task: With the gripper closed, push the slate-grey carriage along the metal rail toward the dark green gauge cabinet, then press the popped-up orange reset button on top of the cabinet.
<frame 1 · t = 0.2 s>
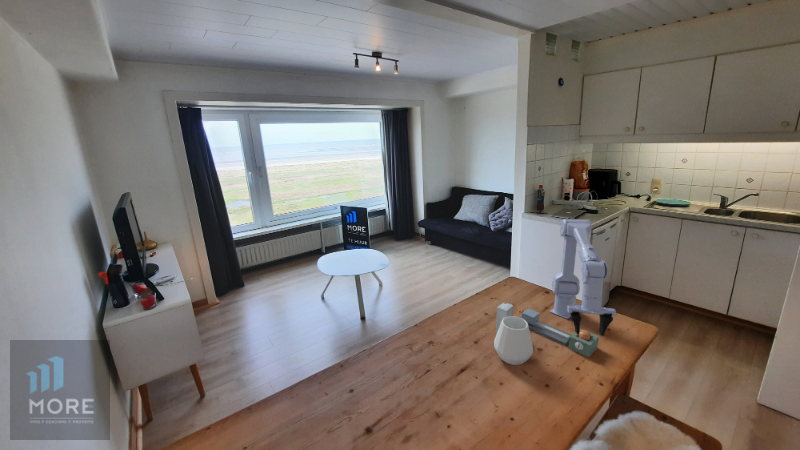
hand: (589, 333, 112), 10 cm above the table, tool pointing down, fingers open, 7 cm apart
skincare box: (503, 333, 131), on the table
rail base: (543, 330, 132), on the table
cup: (512, 356, 118), on the table
reset button: (584, 337, 119), point 4 cm above the table, slide at 0.0 cm
gauge cabinet: (582, 348, 121), on the table
carriage: (530, 317, 135), point 4 cm above the table, slide at 0.0 cm
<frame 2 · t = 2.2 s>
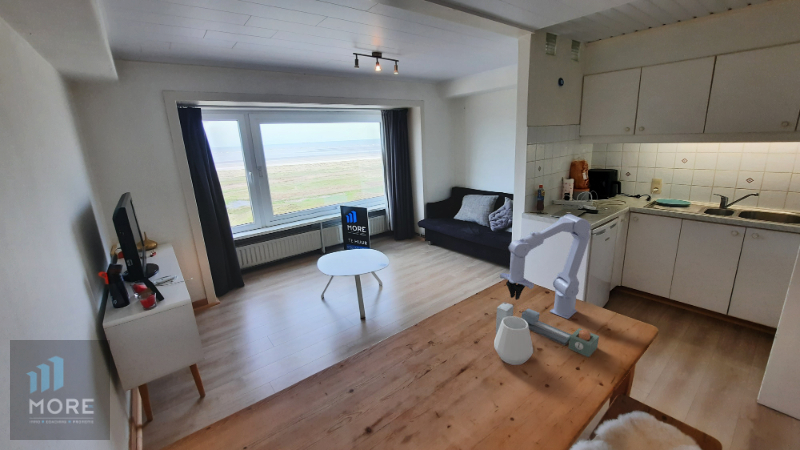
hand: (515, 298, 139), 9 cm above the table, tool pointing down, fingers closed
nothing on the table moved.
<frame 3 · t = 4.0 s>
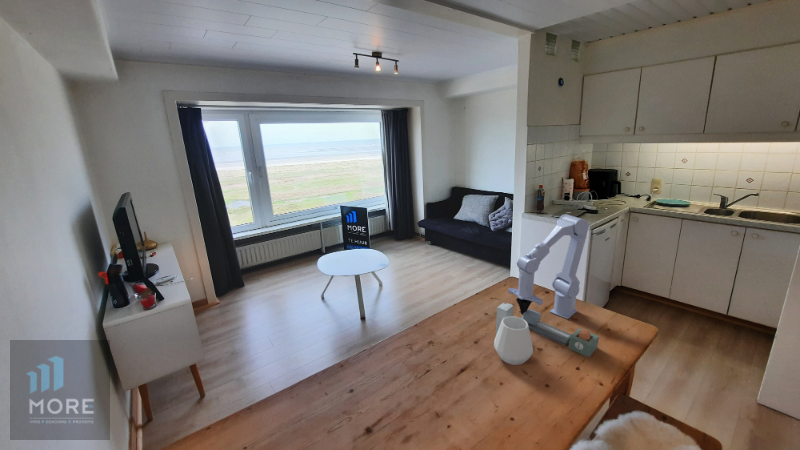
hand: (523, 313, 138), 4 cm above the table, tool pointing down, fingers closed
carriage: (531, 317, 135), point 4 cm above the table, slide at 0.6 cm, touching gripper
everything else where it was.
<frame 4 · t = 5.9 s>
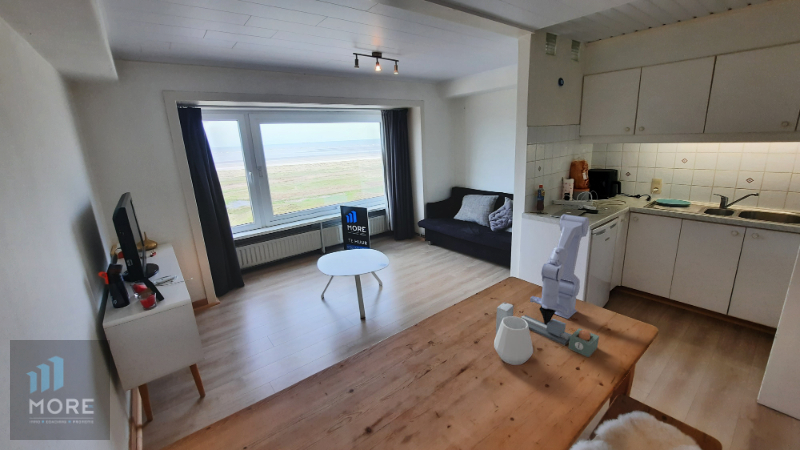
hand: (546, 323, 130), 4 cm above the table, tool pointing down, fingers closed
carriage: (555, 327, 127), point 4 cm above the table, slide at 10.7 cm, touching gripper
everything else where it was.
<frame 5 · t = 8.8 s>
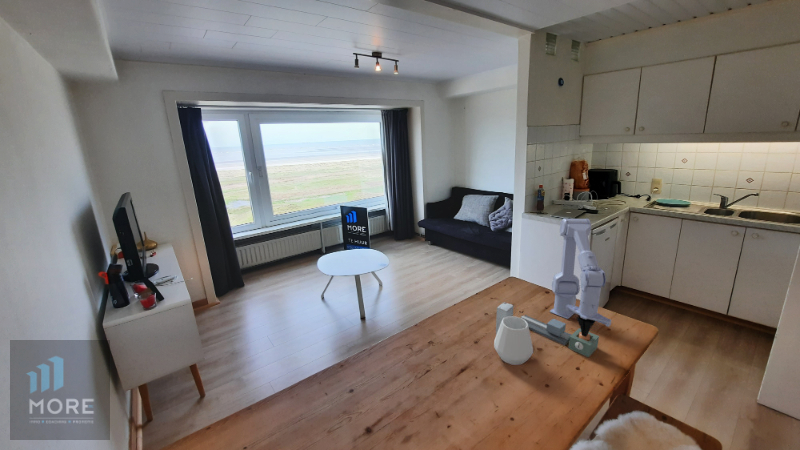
hand: (584, 334, 119), 6 cm above the table, tool pointing down, fingers closed, pressing on reset button
reset button: (584, 339, 120), point 4 cm above the table, slide at 0.8 cm, touching gripper
carriage: (555, 327, 127), point 4 cm above the table, slide at 10.7 cm
everything else where it was.
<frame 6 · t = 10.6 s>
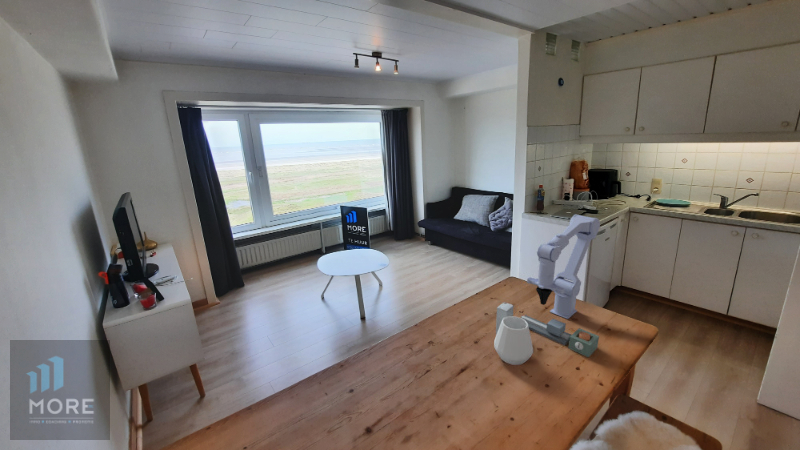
hand: (543, 303, 134), 9 cm above the table, tool pointing down, fingers closed
reset button: (584, 339, 120), point 4 cm above the table, slide at 0.8 cm
everything else where it was.
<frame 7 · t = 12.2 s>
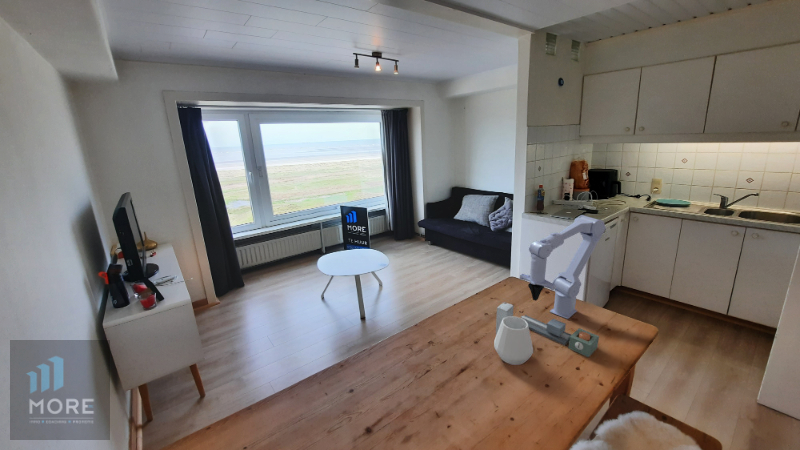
hand: (535, 299, 137), 9 cm above the table, tool pointing down, fingers closed
nothing on the table moved.
at the end: carriage slide at 10.7 cm; reset button slide at 0.8 cm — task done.
